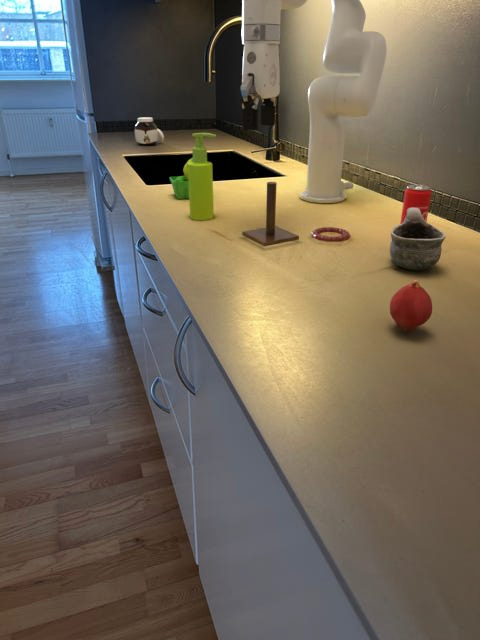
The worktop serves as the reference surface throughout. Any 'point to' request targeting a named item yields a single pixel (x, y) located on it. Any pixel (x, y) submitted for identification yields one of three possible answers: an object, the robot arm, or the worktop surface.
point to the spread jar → (147, 132)
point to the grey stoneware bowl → (415, 242)
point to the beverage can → (416, 200)
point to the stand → (270, 224)
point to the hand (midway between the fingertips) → (259, 127)
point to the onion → (411, 306)
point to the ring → (317, 236)
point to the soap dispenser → (200, 181)
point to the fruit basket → (181, 183)
